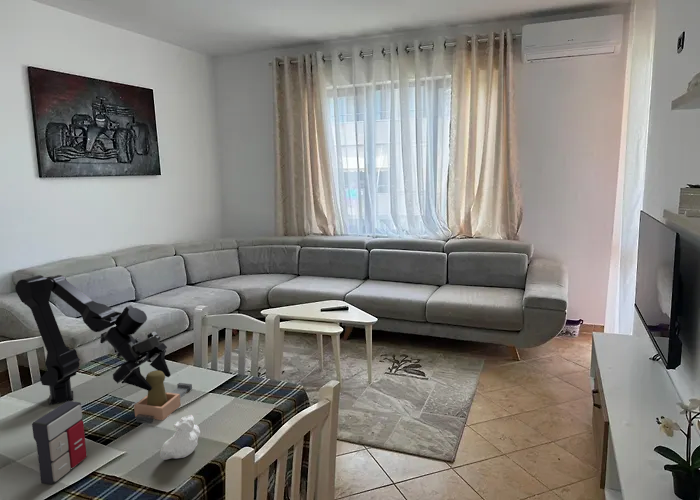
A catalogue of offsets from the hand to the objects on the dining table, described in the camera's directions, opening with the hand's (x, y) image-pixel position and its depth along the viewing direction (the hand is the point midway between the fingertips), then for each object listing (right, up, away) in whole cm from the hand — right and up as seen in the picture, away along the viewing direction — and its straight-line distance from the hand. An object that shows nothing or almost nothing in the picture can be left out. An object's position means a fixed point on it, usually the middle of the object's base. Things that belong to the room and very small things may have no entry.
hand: (160, 382), depth 143 cm
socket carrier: (-1, -9, +2) cm, 9 cm away
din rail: (0, -8, +6) cm, 10 cm away
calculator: (-13, -14, -26) cm, 32 cm away
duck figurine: (+13, -13, -19) cm, 27 cm away
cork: (-2, -8, +2) cm, 8 cm away
